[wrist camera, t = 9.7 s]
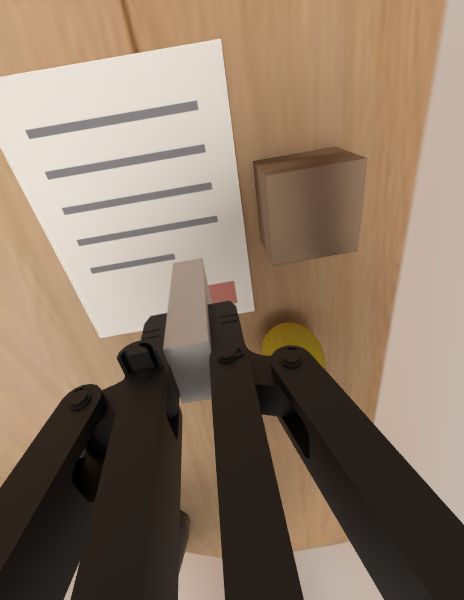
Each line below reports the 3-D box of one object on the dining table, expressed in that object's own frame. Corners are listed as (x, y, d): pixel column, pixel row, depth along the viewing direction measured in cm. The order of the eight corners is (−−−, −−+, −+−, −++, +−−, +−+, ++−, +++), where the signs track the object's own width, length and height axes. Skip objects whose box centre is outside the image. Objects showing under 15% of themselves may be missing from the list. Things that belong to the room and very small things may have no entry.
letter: (100, 336, 29) (100, 338, 29) (-32, 82, 18) (-34, 82, 17) (254, 309, 29) (254, 311, 29) (220, 39, 18) (220, 38, 18)
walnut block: (260, 238, 25) (273, 265, 21) (252, 161, 22) (266, 175, 18) (331, 225, 25) (357, 250, 21) (334, 146, 22) (367, 158, 18)
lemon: (243, 332, 30) (256, 397, 24) (283, 296, 29) (310, 356, 22) (279, 356, 33) (300, 421, 26) (318, 325, 31) (352, 386, 24)
